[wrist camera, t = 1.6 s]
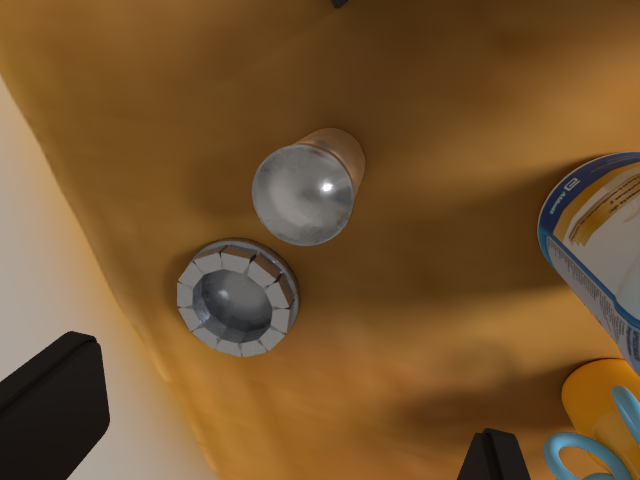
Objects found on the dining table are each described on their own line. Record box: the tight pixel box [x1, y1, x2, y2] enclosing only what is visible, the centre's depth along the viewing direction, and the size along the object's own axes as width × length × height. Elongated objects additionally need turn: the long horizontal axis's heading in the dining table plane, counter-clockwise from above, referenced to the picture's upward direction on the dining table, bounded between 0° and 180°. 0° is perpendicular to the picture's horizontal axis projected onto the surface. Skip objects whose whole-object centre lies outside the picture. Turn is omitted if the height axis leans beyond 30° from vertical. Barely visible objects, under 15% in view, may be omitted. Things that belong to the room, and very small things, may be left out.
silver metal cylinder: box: [252, 128, 365, 246], centre depth 21 cm, size 5×5×8 cm
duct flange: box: [177, 238, 300, 357], centre depth 28 cm, size 9×9×2 cm
